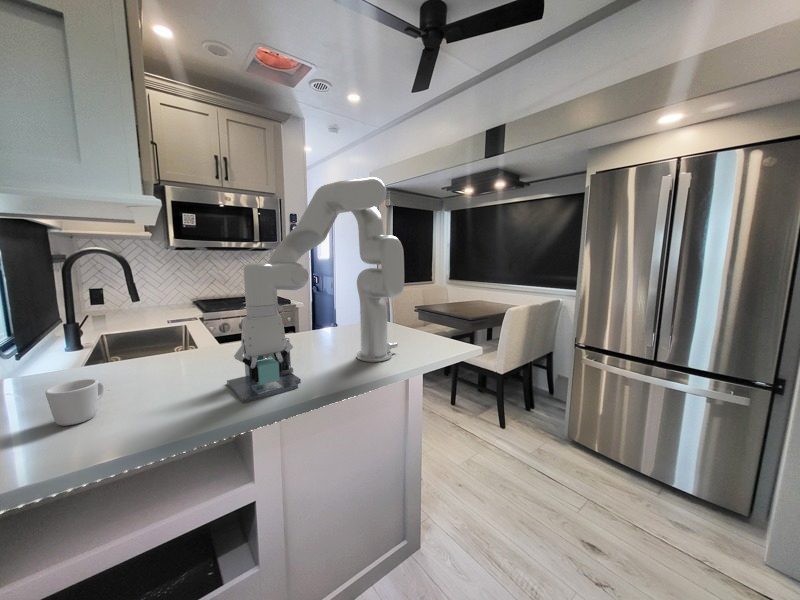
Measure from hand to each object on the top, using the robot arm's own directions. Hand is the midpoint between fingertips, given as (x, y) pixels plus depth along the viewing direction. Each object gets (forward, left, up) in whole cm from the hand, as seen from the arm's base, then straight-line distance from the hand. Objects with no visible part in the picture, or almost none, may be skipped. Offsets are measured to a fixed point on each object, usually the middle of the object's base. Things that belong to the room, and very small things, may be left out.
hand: (266, 377), depth 84 cm
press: (-1, -5, -4) cm, 6 cm away
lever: (-8, -7, -3) cm, 11 cm away
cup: (+36, -14, -4) cm, 39 cm away
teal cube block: (0, 0, -1) cm, 1 cm away
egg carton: (-9, -23, -4) cm, 25 cm away
